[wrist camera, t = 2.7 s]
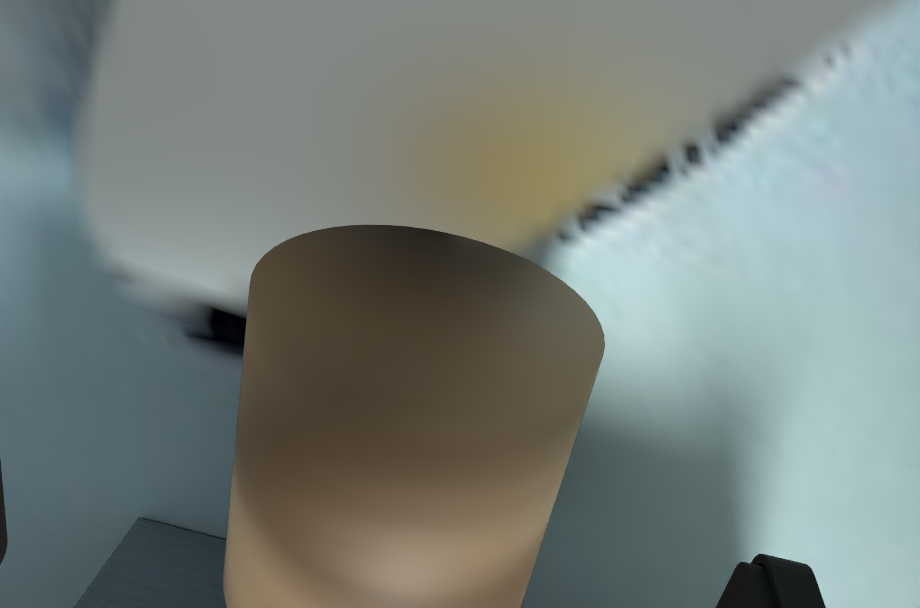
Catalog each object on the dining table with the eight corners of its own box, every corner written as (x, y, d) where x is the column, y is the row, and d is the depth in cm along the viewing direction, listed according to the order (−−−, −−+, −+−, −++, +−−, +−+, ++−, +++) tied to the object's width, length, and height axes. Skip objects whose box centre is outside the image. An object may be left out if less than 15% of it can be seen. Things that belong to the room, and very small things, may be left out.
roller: (627, 288, 13) (566, 459, 9) (545, 535, 16) (467, 762, 12) (347, 199, 14) (171, 315, 10) (311, 445, 17) (157, 624, 13)
